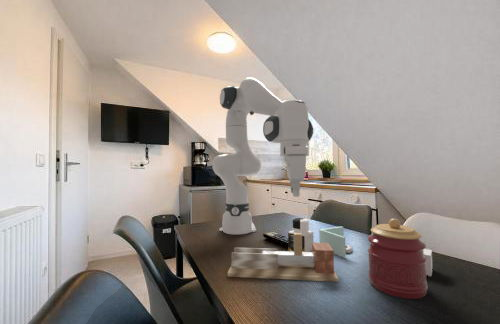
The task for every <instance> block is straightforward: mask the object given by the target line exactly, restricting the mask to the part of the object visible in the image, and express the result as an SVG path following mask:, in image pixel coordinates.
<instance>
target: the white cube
mask: <svg viewBox="0 0 500 324" xmlns="http://www.w3.org/2000/svg"><path fill="white" fill-rule="evenodd" d="M423 252H424V256H425V257H426V276H427V275H428V277H432V275H433V270H432V269H433V250H432V249H429V248H428V249H427V248H425V249H424V250H423Z"/></svg>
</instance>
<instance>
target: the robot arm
mask: <svg viewBox="0 0 500 324" xmlns="http://www.w3.org/2000/svg"><path fill="white" fill-rule="evenodd" d="M219 103H220V105H221V107H222V108H223V109H224V110H225V109H226V110H227V112H226V117H225V118H226V119H225V141H226V144H227V145H228V146H229V147H231V148H233V150H234V151H235V153H236V154H234V153H233V154H232V153H230V154H228V153H225V154H219V155H218V154H217V155H216V156H214V158H213V160H212V163H211V167H212V171H213V172H214V174H215V175H216V176H218V177H219V178H220V179H221V180H222V182H223V185H224V186H225V193H226V194H225V195H226V197H225V198H226V203H225V212H224V213H223V214H222V224H221V225H222V227H220V228H219V231H220V232H222V231H223V232H222V233H224V234H226V235H247V234H250V233H255V232H257V228H256V226H255V224H254V221H253V219H252V216H253V215H252V214H251V213H250V203H249V189H248V187H247V185H246V184H244V183H243V182H241V181H239V178H238V176H239V177H240V176H244V177H245V176H247V177H248V176H252V175H253V176H254V175H257V174H258V173H259V172H260V171H261V167H262V166H261V165H262V164H261V159H260V158H259V157H258V156H256V154H254V152H253V151H252V149H251V147H250V144H249V138H248V122H247V121H248V120H247V119H248V118H247V117H248V114H249V115H250V116H253V115H254V114H259V115H263V116H268V117H267V118H266V119H265V121H264V122H263V126H262V127H263V128H262V132H263V136H264V138H265V139H266V140H267V142H269V143H273V144H279V146H280V147H279V148H280V150H279V151H280V157H283V158H284V159H283V160H284V162H287V165H286V166H287V168H286V169H287V170H286V171H287V172H286V173H287V179H289V185H290V192H291V194H292V196H293V197H298V198H299V197H300V190H301V182H304V180H305V177H306V165H307V157H309V156H310V141H311V139H312V137H313V135H314V127H313V124H312V122H311V120H310V119H309V112H308V107H307V106H308V105H307V103H306V102H305V101H303V100H299V99H286V100H281V99H280V98H278V97H277V96H276V95H274V94H273V93H272V92H271V91H270V90H269V89H268V88H267V87H266V86H265V85H264V84H263V83H262V82H261V81H260V80H258V79H256V78H255V77H246V78H245V79H243V80H241V82H240V84H239V86H234V85H230V86H224V87H223V88H222V89H221V90H220V94H219ZM219 231H218V232H219Z"/></svg>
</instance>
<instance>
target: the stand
mask: <svg viewBox="0 0 500 324" xmlns="http://www.w3.org/2000/svg"><path fill="white" fill-rule="evenodd" d="M262 251H278V248H267V247H266V248H263V247H262V248H261V247H259V248H258V247H234V249H233V251H232V252H231V265H230V267H229V269H228V272H227V277H228V278H229V277H231V278H252V279H255V278H256V279H271V280H273V279H275V280H294V281H295V280H297V281H315V282H317V281H318V282H333V283H334V282H336V283H339V276H338V275H337V273H336V271H335V261H334V260H335V258H334V257H335V254H334V251H333V249H332V248H331V246H330V245H329V244H328V243H319V242H314V243H312V251H311V252H314V254H315V267H301V266H278V254H264V253H262Z"/></svg>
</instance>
